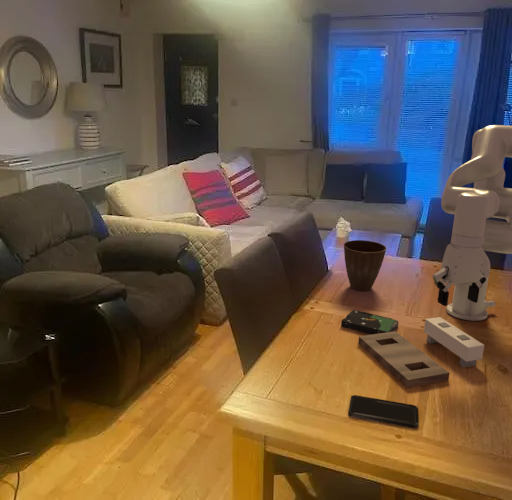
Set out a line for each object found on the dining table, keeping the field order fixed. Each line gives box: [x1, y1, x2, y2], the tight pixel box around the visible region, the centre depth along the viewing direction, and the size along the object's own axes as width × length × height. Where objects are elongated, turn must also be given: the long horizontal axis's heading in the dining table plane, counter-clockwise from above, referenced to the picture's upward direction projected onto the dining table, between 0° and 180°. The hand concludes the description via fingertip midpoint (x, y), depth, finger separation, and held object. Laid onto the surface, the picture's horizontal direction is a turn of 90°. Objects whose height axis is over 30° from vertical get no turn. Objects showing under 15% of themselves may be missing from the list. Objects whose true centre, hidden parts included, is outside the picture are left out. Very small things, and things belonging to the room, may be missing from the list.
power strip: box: [423, 316, 485, 369], centre depth 142 cm, size 5×18×7 cm, turn 18°
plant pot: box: [343, 239, 387, 292], centre depth 187 cm, size 15×15×16 cm
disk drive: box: [340, 309, 399, 335], centre depth 157 cm, size 10×3×15 cm
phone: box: [347, 394, 420, 429], centre depth 115 cm, size 8×1×15 cm
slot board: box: [358, 330, 450, 389], centre depth 137 cm, size 24×12×2 cm, turn 18°
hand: (457, 302), depth 138 cm, fingers open, 9 cm apart
